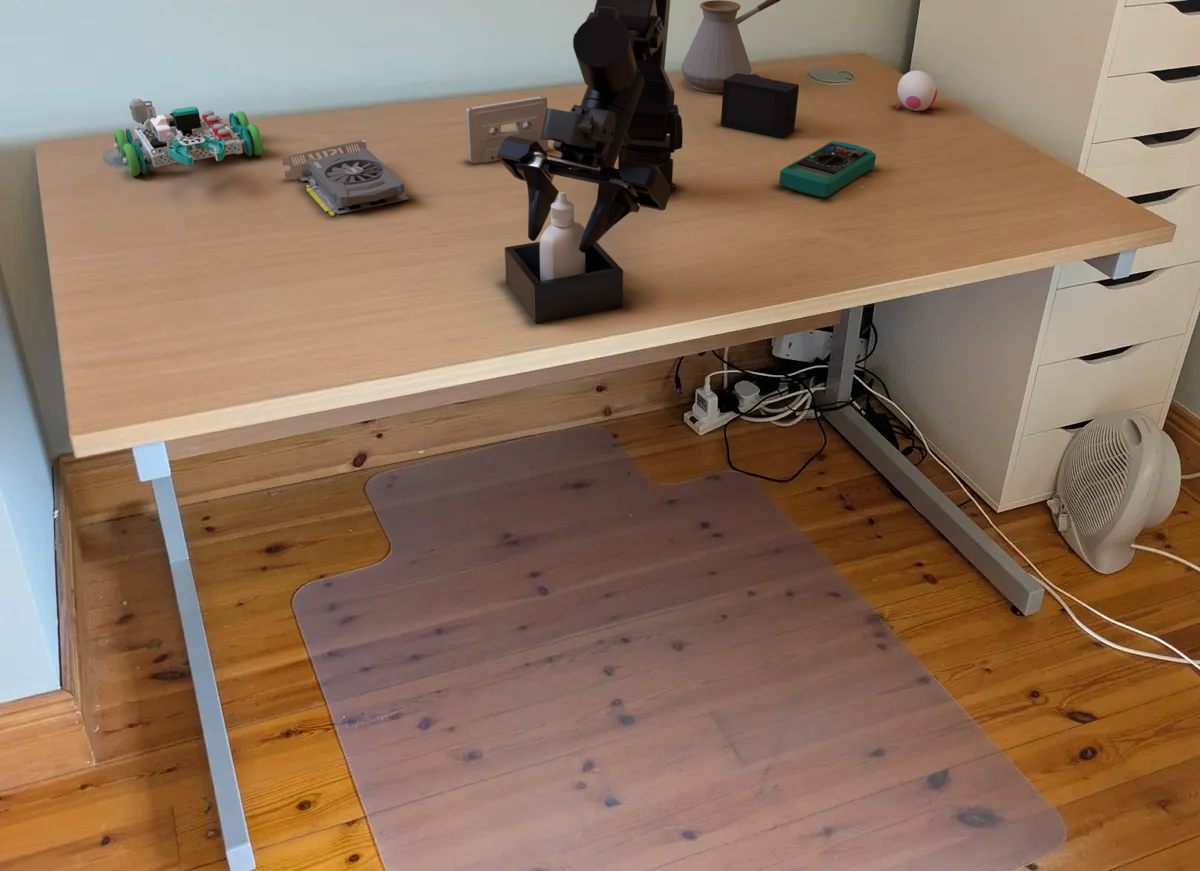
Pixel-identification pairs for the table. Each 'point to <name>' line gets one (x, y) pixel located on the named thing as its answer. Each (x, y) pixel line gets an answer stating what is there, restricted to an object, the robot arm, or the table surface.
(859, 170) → the digital multimeter
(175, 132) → the robot kit
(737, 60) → the coffee pot
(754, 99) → the digital camera
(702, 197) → the table surface
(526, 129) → the cassette
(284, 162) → the graphics card
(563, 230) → the eye dropper bottle
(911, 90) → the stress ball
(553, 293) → the holder
